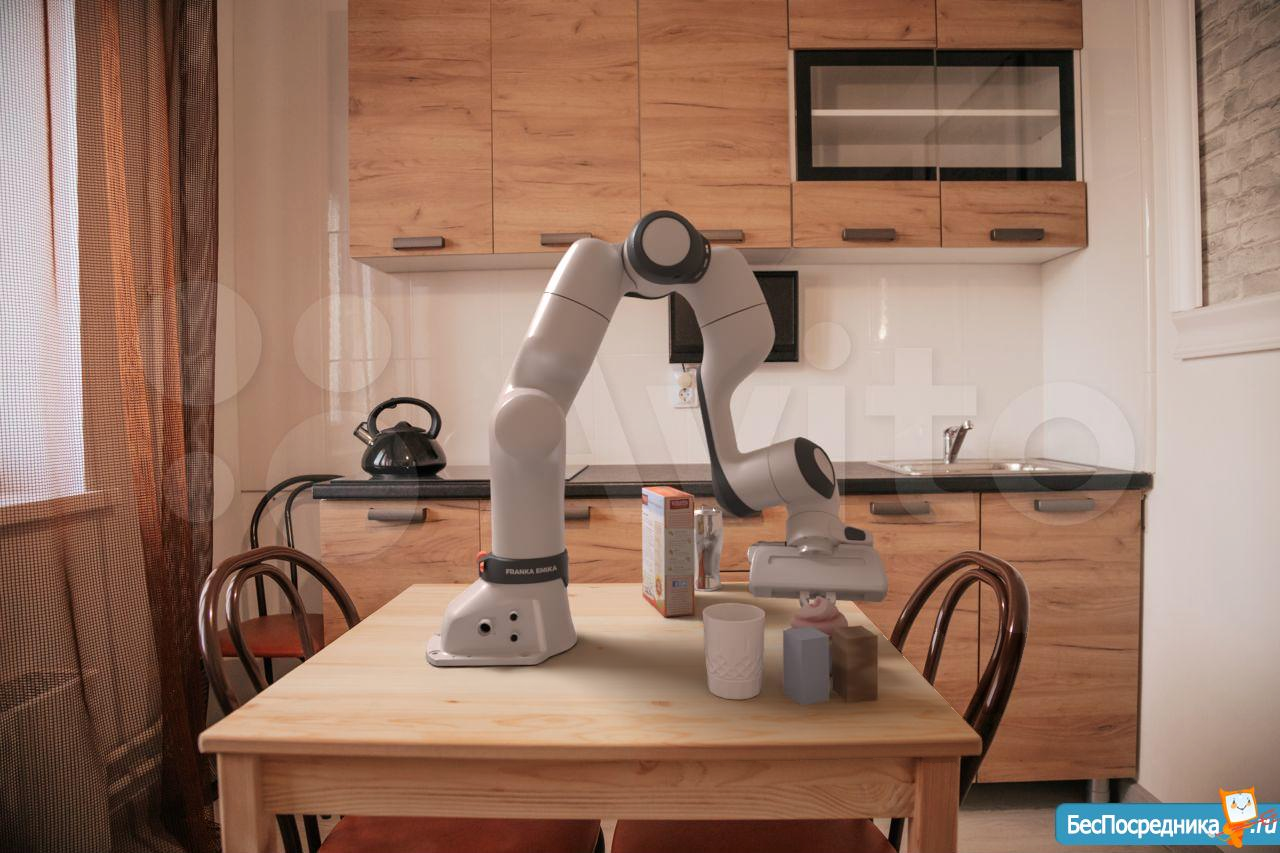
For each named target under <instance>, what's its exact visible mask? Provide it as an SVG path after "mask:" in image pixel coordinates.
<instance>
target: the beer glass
mask: <svg viewBox="0 0 1280 853" xmlns="http://www.w3.org/2000/svg"><path fill="white" fill-rule="evenodd" d="M723 522H724V521H723V511H722V510H720V509H714V508H713V509H712V508H697V509H694V567H695V568H694V583H695V591H699V592H714V591H718V590H720V589H722V581H721V577H720V564H721V558H722V551H723V543H724V523H723Z"/></svg>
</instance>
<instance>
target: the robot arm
mask: <svg viewBox="0 0 1280 853" xmlns="http://www.w3.org/2000/svg"><path fill="white" fill-rule="evenodd" d="M674 292H676V293H678V294H679V295H681V296H682V297H683V298H685V299H686V301H687V302H688V304H689V305H690V306H691V308H692V309H693V312H694V315H695V317H696V321H697V324H698V327H699V329H700V332H701V337H702V341H703V342H702V343H703V356H702V362H701V363H700V364H699V365H698V367H697V369H696V373H695V374H696V376H695V377H696V379H695V380H696V383H695V384H696V389H697V398H698V403H699V409H700V414H701V420H702V423H703V429H704V433H705V434H704V435H705V439H706V446H707V450H708V454H709V461H710V470H711V472H710V473H711V474H710V475H711V485H712V490H713V494H714V497H715V500H716V503H717V504H718V506H719V507H720V508H721V509H723V510H724V511H725V512H727V513H729V514H731V515H733V516H735V517H738V518H741V519H743V518H747V517H749V516H752V515H754V514H757V513H760V512H762V511H764V510H768V509H771V508H777V507H779V506H783V505H785V509H786V512H787V519H786V521H785V541H783V540H780V541H779V540H778V541H777V540H776V541H775V540H773V541H766V540H758V541H757V542H756V543H753V544H751V545H750V546H749V547H748V550H747V561H748V563H749V564H750V567H749V568H750V569H749V575H748V576H749V577H748V578H749V579H748V587H749V588H748V589H749V592H750V594H751V595H752V596H753V597H754V598H761V599H762V598H764V599H765V598H766V599H789V600H790V599H792V600H799V606H800V608H801V607H802V606H803V605H806V604H810V600H814V601H815V599H816V597H817V596H821V597H822V598H825V599H827V600H829V601H831V602H832V603H833V604H834V605H835V606H836V602H837V601H840V602H841V601H843V602H844V601H845V602H871V603H872V602H873V603H874V602H875V603H880V602H883V601H884V599H885V598H886V597H887V595H888V590H889V583H888V577H887V573H886V571H887V570H886V568H885V565H884V562H883V558H882V556H881V554H880V552H879V551H878V550H877V549H876V548H875V546H874V544H875V542H874V534H873V533H872V532H871V531H869V530H866V529H863V528H859V527H856V526H852V525H850V524H846V523H843V522H842V520H841V518H840V517H841V516H840V514H839V512H840V508H841V498H840V497H841V496H840V490H839V486H838V485H839V484H838V480H837V479H838V478H837V475H836V472H835V469H834V465H833V463H832V461H831V459H830V457H829V455H828V454H827V452H826V451H825V450H824V449H823V448H822V446H819V445H818V444H817V443H815V442H813V440H812V441H811V439H807V438H805V437H802V436H798V437H794V438H789V439H786V440H782V441H780V442H776V443H773V444H770V445H769V446H765V447H761V448H759V449H754V450H751V451H748V452H745V453H743V452H741V451H740V449H739V448H738V442H737V438H736V432H735V428H734V427H735V426H734V422H733V416H732V412H731V400H732V396H733V395H734V392H735V391H736V389H737V388H738V386H740V384H742V382H744V381H745V380H746V378H748V377H749V376H750V375H751V374H753V372H754V371H756V370H757V369H758V368H759V367H760V366H761V365H762V364H763V363H764V362H765V361H766V359H767V358H768V356H770V353H771V351H772V349H773V346H774V343H775V339H776V338H775V337H776V331H775V325H774V321H773V318H772V315H771V312H770V311H771V310H770V308H769V306H768V304H767V301H766V299H765V296H764V293H763V291H762V289H761V286H760V284H759V281H758V280H757V278H756V276H755V273H754V272H753V270H752V268H751V267H750V265H749V263H748V261H747V259H746V258H745V257H744V255H743V253H742V252H741V251H740V250H738V249H737V248H735V247H733V246H728V245H718V246H711V242H710V241H709V240H708V239H707V237H705V236H704V235H703V234H702V233H700V232H699V231H698V230H697V228H695V226H694V224H692V223H691V222H690V221H689V220H688V219H687V218H685V217H684V215H681V214H679V212H676V211H673V210H668V209H667V210H666V209H662V210H661V209H660V210H655V211H652V212H650V213H647V214H645V215H644V216H642V217H640V219H638V220H637V221H636V223H634V225H633V226H632V227H631V229H630V231H629V234H628V235H627V237H626V239H624V240H623V242H620V243H609V242H608V241H605V240H602V239H599V238H596V237H585V238H584V237H583V238H580V239H578V240H576V241H575V242H573V243H572V244H571V246H569V248H567V251H566V252H565V254H563V257H562V259H560V261H559V263H558V264H557V266H556V268H555V270H554V271H553V272H552V275H551V277H550V279H549V280H548V282H547V285H546V287H545V289H544V291H543V294H542V296H541V298H540V301H539V303H538V305H537V308H536V310H535V312H534V315H533V316H532V319H531V320H530V324H529V325H528V327H527V330H526V332H525V335H524V337H523V339H522V342H521V344H520V347H519V349H518V352H517V353H516V356H515V358H514V361H513V363H512V366H511V368H510V369H509V372H508V374H507V377H506V380H505V382H504V384H503V386H502V388H501V391H500V393H499V395H498V398H497V400H496V402H495V405H494V406H493V408H492V411H491V413H490V415H489V420H488V450H489V452H488V454H489V480H490V482H489V483H490V484H489V485H490V509H491V510H490V512H491V515H490V516H491V518H490V519H491V520H490V521H491V552H488V551H485V550H481V551H479V552H478V553H477V555H476V563H477V564H478V579H476V580H475V581H474V582H473V583H472V584H471V585H469V586H468V587H467V588H465V590H463V591H462V592H460V594H458V595H457V596H456V597H455V598H453V599H452V600H451V601H450V602H449V604H448V606H447V607H446V608H445V611H444V615H443V617H442V621H441V627H440V628H441V629H440V630H439V631H437V632H436V633H434V634H433V635H432V636H431V637H430V638H429V640H428V642H427V643H426V647H425V648H426V649H425V658H426V660H427V661H428V662H429V663H430V664H431V665H432V666H437V667H439V666H440V667H444V666H445V667H447V666H448V667H449V666H515V665H516V666H520V665H522V666H523V665H524V666H525V665H529V666H532V665H537V664H541V663H542V662H544V661H545V660H547V659H549V658H550V657H551V656H555V655H557V654H560V653H563V652H565V651H567V650H569V649H571V648H572V647H573V646H575V644H576V643H577V642H578V636H577V635H578V634H577V633H576V630H575V627H574V622H573V618H572V612H571V607H570V601H569V594H568V586H569V581H570V558H569V557H570V556H569V553H568V550H567V548H566V528H565V491H566V490H565V489H566V486H565V484H566V467H567V466H566V463H567V461H566V459H567V421H566V420H567V419H566V418H567V416H568V414H569V412H570V410H571V407H572V405H573V403H574V401H575V399H576V397H577V395H578V393H579V391H580V389H581V388H582V385H583V383H584V381H585V379H586V377H587V375H588V374H589V372H590V370H591V368H592V366H593V364H594V360H595V358H596V357H597V353H598V351H599V350H600V347H601V344H602V342H603V340H604V338H605V335H606V333H607V331H608V328H609V326H610V323H611V321H612V319H613V316H614V314H615V312H616V310H617V307H618V305H619V303H620V302H621V300H622V298H624V297H626V298H634V299H640V300H641V299H642V300H646V301H647V300H649V301H653V300H660V299H663V298H664V299H665V298H666V297H668V296H670V295H671V294H673V293H674Z"/></svg>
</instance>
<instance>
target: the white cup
mask: <svg viewBox="0 0 1280 853" xmlns="http://www.w3.org/2000/svg"><path fill="white" fill-rule="evenodd" d="M702 624H703V625H702V626H703V643H704V656H705V668H706V677H707V679H706V680H707V687H708V690H709V692H710V693H711V694H713V695H715V696H717V697H719V698H722V699H727V700H739V701H740V700H747V699H751V698H754V697H755V696H758V695H759V694H760V692H761V690H762V677H763V675H762V674H763V673H762V671H763V666H764V652H765V629H766V626H765V624H766V612H765V610H763V609H762V608H761V607H758V606H756V605H752V604H746V603H739V602H724V603H716V604H712V605H709V606H706V607H705V608H703V609H702Z"/></svg>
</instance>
